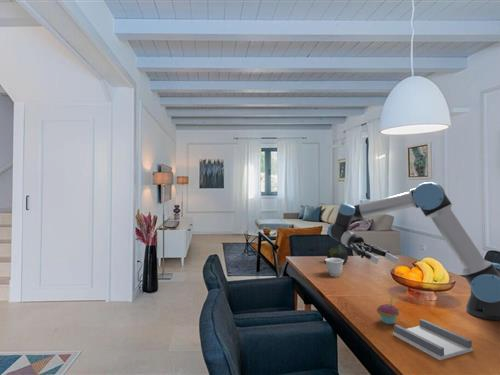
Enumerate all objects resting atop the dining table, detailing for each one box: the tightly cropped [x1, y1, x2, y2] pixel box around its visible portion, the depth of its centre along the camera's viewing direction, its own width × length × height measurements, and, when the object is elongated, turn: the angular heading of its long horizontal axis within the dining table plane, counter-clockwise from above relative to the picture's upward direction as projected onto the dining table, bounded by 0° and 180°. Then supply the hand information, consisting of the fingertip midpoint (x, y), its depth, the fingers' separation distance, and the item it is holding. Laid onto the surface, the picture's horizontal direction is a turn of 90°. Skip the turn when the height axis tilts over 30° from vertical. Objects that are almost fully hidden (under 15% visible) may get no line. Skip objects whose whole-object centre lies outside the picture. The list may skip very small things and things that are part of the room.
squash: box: [326, 244, 349, 265], centre depth 242 cm, size 14×15×15 cm
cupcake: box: [376, 293, 400, 325], centre depth 139 cm, size 9×8×12 cm
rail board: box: [392, 318, 473, 361], centre depth 121 cm, size 20×16×4 cm
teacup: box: [324, 257, 344, 278], centre depth 212 cm, size 12×15×10 cm
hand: (387, 261), depth 143 cm, fingers open, 13 cm apart
